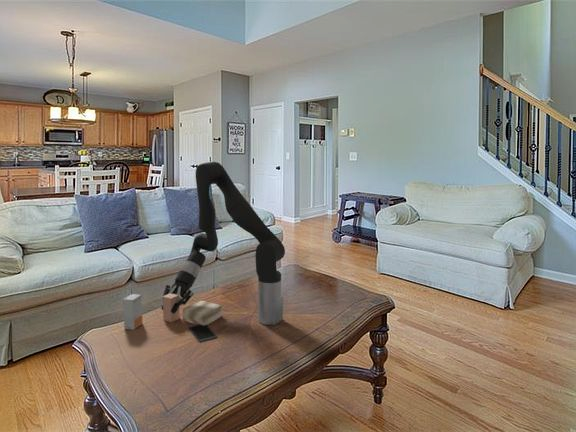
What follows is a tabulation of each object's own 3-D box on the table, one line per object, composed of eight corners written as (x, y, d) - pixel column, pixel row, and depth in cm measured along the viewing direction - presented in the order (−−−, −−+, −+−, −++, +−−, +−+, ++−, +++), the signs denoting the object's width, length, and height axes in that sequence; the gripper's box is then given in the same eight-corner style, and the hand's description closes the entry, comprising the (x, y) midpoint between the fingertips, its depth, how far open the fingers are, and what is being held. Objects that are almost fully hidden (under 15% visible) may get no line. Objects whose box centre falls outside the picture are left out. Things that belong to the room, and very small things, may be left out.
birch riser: (221, 316, 157) (221, 305, 156) (204, 327, 148) (203, 315, 147) (201, 311, 162) (200, 300, 161) (182, 321, 153) (182, 309, 152)
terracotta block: (179, 318, 154) (179, 295, 153) (171, 322, 151) (170, 298, 149) (171, 315, 157) (170, 292, 155) (163, 320, 153) (162, 296, 151)
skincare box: (134, 330, 144) (132, 300, 142) (124, 329, 144) (122, 299, 143) (143, 323, 149) (141, 294, 148) (133, 322, 150) (131, 293, 148)
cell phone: (199, 343, 135) (199, 341, 135) (187, 328, 146) (187, 326, 146) (218, 338, 139) (218, 336, 138) (205, 324, 150) (205, 322, 150)
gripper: (171, 267, 160) (149, 303, 152) (196, 272, 154) (175, 311, 145) (180, 275, 166) (160, 311, 157) (205, 281, 159) (186, 319, 151)
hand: (167, 311), depth 151 cm, fingers closed on terracotta block, 4 cm apart
